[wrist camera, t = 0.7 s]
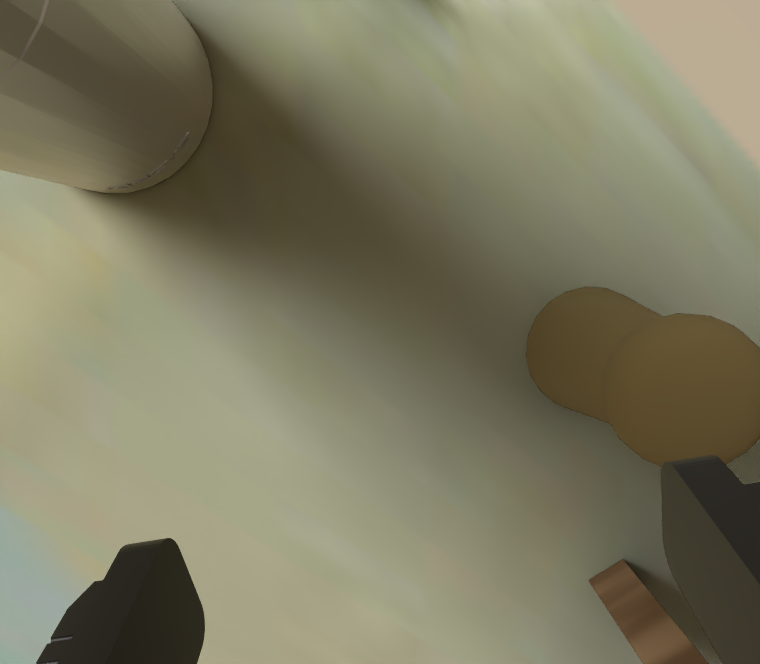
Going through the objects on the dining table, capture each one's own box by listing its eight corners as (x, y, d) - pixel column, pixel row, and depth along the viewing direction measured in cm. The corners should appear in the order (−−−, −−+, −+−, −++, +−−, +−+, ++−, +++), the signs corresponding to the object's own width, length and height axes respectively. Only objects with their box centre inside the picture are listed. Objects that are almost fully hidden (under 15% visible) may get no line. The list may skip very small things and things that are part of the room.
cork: (667, 302, 30) (837, 330, 19) (632, 423, 31) (778, 517, 20) (544, 273, 30) (645, 285, 19) (512, 396, 30) (591, 476, 19)
